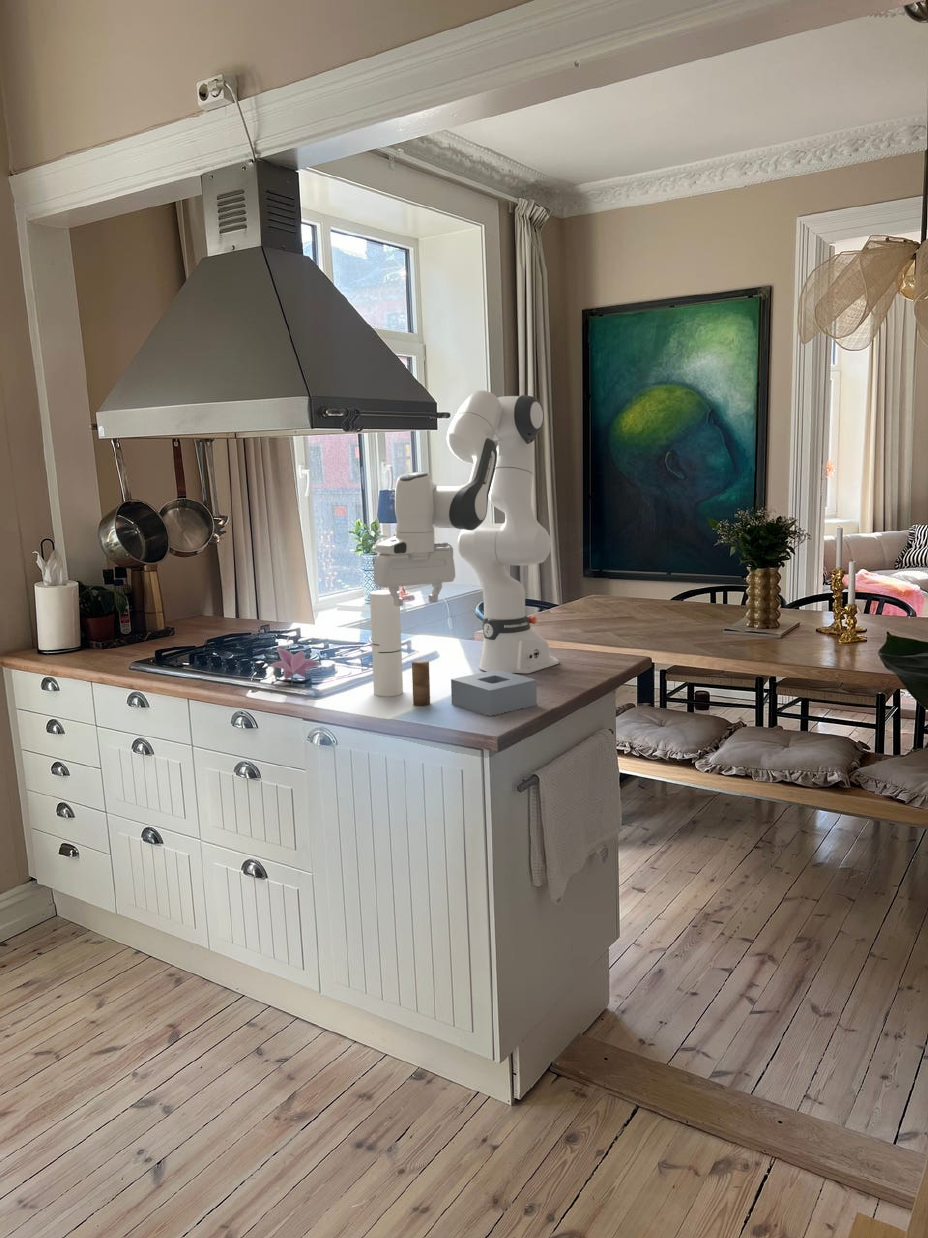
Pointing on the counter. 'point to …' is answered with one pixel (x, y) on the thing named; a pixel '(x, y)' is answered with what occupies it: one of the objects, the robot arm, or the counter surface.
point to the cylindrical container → (386, 644)
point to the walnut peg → (421, 683)
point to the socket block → (494, 692)
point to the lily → (294, 663)
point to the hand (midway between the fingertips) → (416, 604)
